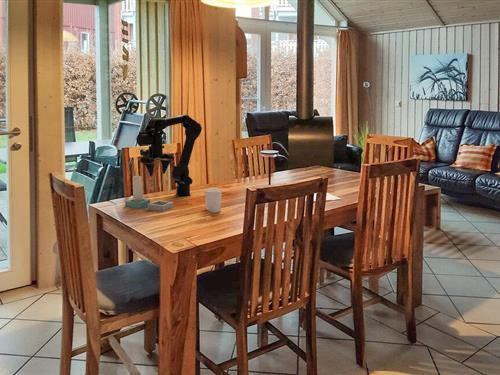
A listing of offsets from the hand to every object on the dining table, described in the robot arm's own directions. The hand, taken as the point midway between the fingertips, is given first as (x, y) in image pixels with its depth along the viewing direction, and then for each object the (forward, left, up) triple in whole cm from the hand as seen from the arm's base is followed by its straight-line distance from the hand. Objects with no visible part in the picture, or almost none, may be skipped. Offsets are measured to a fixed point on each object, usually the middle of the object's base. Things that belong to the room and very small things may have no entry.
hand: (157, 175), depth 260 cm
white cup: (-20, +30, -13) cm, 38 cm away
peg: (+12, +12, -12) cm, 21 cm away
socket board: (+7, +16, -13) cm, 22 cm away
